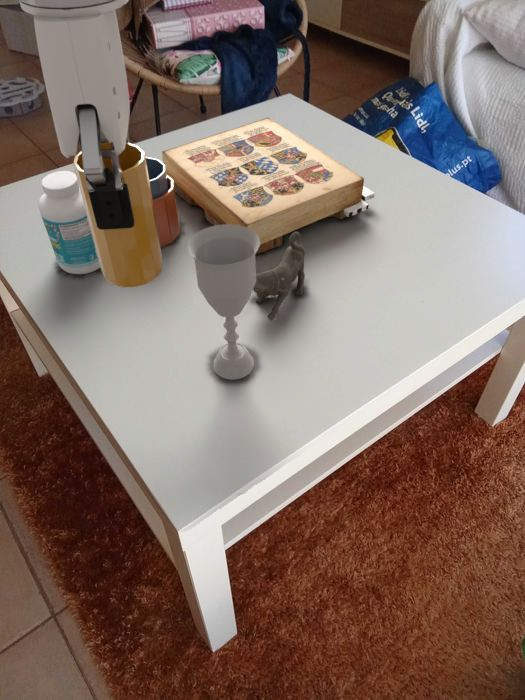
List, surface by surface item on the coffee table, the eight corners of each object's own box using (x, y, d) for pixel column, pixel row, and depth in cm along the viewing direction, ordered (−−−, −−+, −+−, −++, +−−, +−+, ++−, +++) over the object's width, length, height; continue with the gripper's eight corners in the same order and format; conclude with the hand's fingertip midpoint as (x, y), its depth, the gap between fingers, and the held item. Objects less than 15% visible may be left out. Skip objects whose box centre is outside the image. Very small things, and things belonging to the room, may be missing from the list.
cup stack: (118, 251, 86) (103, 189, 78) (122, 217, 92) (108, 156, 85) (180, 246, 86) (171, 184, 79) (179, 212, 93) (171, 152, 85)
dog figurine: (279, 266, 83) (280, 222, 77) (315, 278, 81) (318, 234, 75) (237, 314, 76) (234, 270, 70) (274, 329, 74) (274, 285, 68)
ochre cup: (100, 290, 55) (69, 177, 46) (105, 252, 59) (78, 143, 51) (162, 285, 55) (142, 173, 47) (163, 248, 60) (145, 139, 51)
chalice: (210, 391, 67) (194, 270, 54) (199, 350, 71) (182, 231, 58) (269, 377, 68) (268, 257, 55) (255, 339, 72) (250, 219, 59)
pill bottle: (57, 251, 86) (29, 170, 76) (106, 242, 88) (85, 161, 78) (60, 281, 81) (31, 198, 71) (112, 271, 83) (90, 188, 73)
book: (380, 213, 92) (281, 146, 108) (386, 178, 88) (281, 113, 104) (255, 268, 83) (167, 185, 99) (254, 232, 78) (161, 151, 94)
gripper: (36, -49, 45) (88, 162, 58) (-15, 19, 33) (65, 266, 46) (132, -52, 45) (162, 158, 58) (116, 14, 33) (158, 259, 46)
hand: (119, 204), depth 52 cm, fingers closed on ochre cup, 6 cm apart
